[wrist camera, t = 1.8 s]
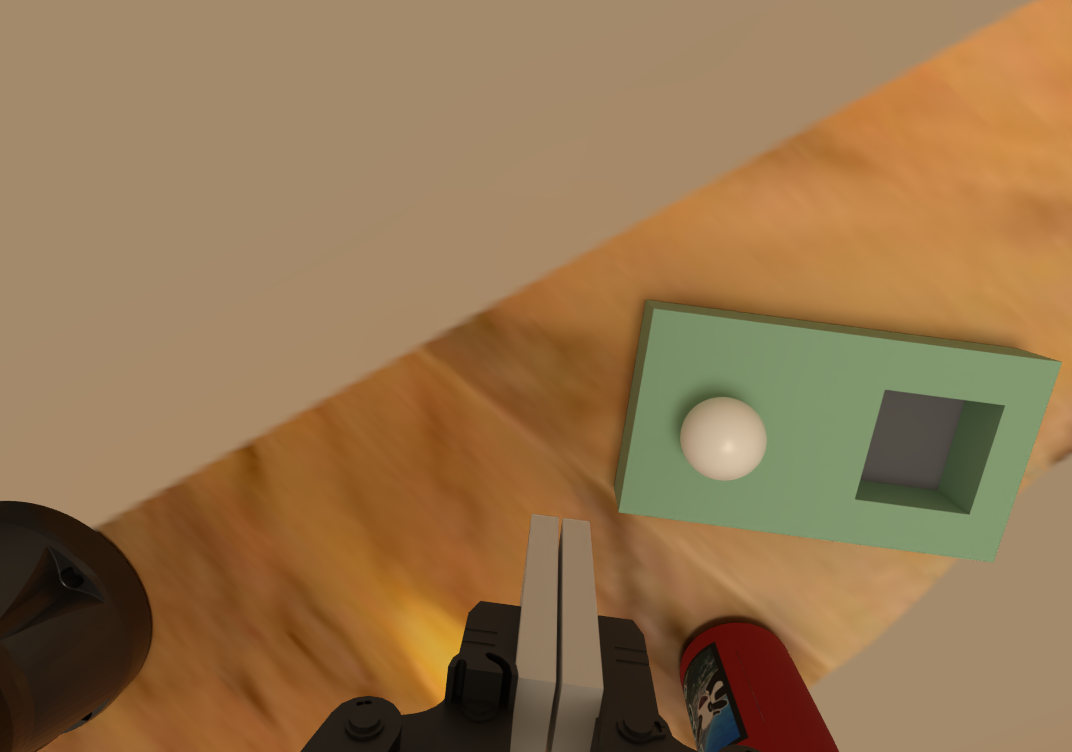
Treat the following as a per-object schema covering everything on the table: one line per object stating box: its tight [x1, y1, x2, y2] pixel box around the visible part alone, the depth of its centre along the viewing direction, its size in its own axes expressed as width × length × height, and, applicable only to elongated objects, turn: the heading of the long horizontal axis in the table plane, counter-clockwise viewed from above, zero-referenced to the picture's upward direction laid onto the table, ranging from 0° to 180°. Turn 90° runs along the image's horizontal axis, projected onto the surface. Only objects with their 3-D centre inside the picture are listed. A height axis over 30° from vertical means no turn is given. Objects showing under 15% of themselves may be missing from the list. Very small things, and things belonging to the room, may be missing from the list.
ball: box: [680, 397, 767, 481], centre depth 31 cm, size 4×4×4 cm
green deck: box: [614, 300, 1062, 562], centre depth 34 cm, size 20×11×3 cm, turn 83°
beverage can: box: [680, 623, 839, 752], centre depth 34 cm, size 7×7×12 cm
